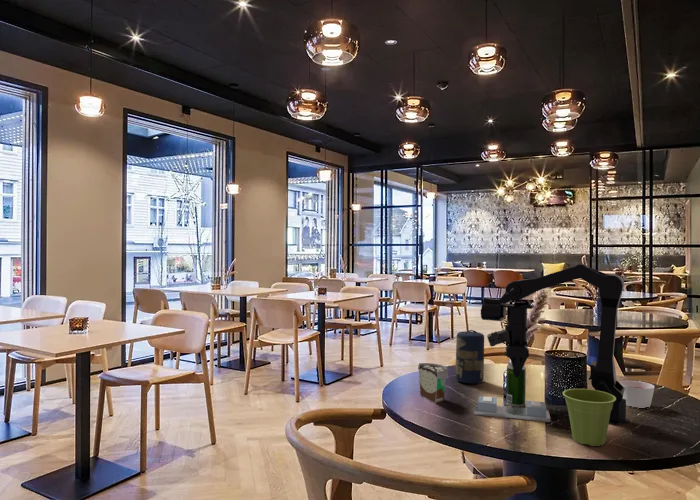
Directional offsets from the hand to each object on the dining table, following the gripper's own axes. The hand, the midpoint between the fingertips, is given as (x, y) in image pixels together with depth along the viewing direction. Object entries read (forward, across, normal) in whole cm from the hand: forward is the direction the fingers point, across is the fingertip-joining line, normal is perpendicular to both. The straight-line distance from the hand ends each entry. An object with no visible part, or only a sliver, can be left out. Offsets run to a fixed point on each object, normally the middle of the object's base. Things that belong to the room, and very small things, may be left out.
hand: (516, 374), depth 153 cm
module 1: (+8, +10, -8) cm, 15 cm away
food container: (+9, +2, -23) cm, 25 cm away
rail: (+9, +10, -1) cm, 13 cm away
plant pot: (+9, +25, +16) cm, 31 cm away
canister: (+9, -22, -15) cm, 28 cm away
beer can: (+9, 0, 0) cm, 9 cm away
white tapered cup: (+9, -11, +35) cm, 37 cm away
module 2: (+9, +10, +5) cm, 14 cm away
